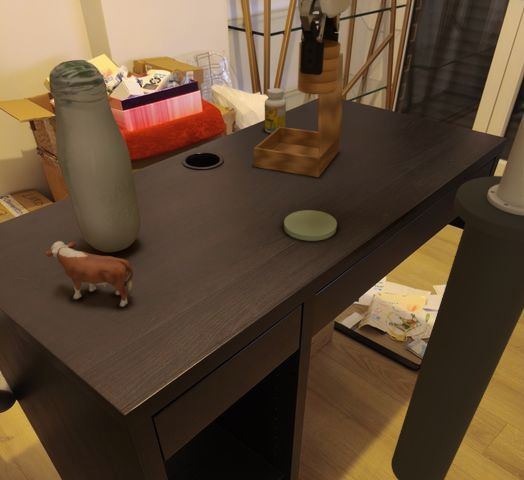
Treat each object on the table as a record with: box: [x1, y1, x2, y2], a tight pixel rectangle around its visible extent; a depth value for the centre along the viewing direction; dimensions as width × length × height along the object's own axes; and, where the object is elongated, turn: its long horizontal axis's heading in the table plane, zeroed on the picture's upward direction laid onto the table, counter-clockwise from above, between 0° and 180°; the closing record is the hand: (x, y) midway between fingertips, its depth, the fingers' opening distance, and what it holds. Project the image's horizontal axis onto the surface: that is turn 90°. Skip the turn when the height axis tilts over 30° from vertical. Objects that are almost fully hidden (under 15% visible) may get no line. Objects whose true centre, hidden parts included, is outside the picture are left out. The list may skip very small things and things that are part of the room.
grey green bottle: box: [48, 59, 142, 253], centre depth 73 cm, size 10×10×28 cm
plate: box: [283, 209, 338, 242], centre depth 87 cm, size 10×10×1 cm
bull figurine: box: [45, 240, 134, 308], centre depth 70 cm, size 4×13×8 cm, turn 71°
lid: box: [317, 52, 344, 157], centre depth 100 cm, size 16×15×1 cm
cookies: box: [297, 39, 342, 95], centre depth 71 cm, size 6×6×6 cm
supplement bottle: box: [264, 87, 287, 134], centre depth 121 cm, size 5×5×10 cm
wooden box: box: [253, 126, 341, 178], centre depth 109 cm, size 15×15×4 cm
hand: (318, 66), depth 71 cm, fingers closed on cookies, 6 cm apart
